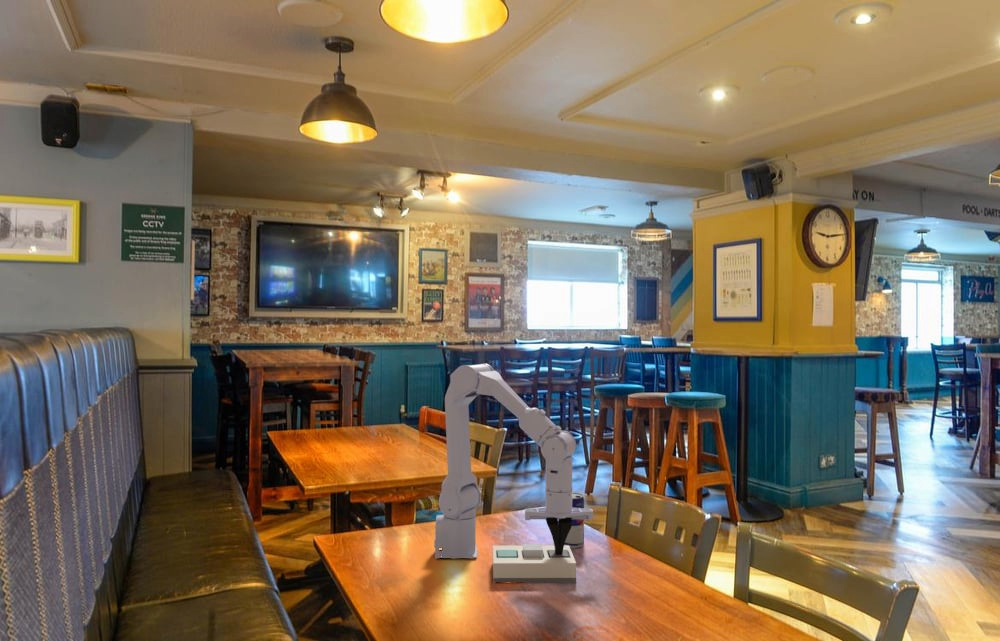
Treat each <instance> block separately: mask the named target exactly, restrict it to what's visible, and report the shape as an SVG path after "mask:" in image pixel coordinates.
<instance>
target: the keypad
mask: <svg viewBox="0 0 1000 641" xmlns="http://www.w3.org/2000/svg"><path fill="white" fill-rule="evenodd" d="M542 548H543V558H523V545H492V579H493V582H518V583H517V584H520V583H519V582H522V583H521V584H541V583H542V584H546V583H547V584H554V583H555V584H562V583H563V584H565V583H566V584H567V583H568V584H569V583H570V584H572V583H577V562H576V559H575V557H574V554H573V552H572V550H571V549H572V548H570V546H569V545H564V548H563V550H567V552H568V554H569V558H549V556H548V550H555V547H554V545H551V544H550V545H548V544H546V545H542ZM498 550H516V553H517V558H498ZM493 582H492V583H493Z"/></svg>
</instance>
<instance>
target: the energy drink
mask: <svg viewBox="0 0 1000 641" xmlns="http://www.w3.org/2000/svg"><path fill="white" fill-rule="evenodd" d="M572 507H573V508H584V509H585V498H584V495H583V494H582V493H579V492H572ZM564 545H569V546H570V549H580V548H582V547H583V546H584V545H585V519H572V527H571V529H570V531H569V533H568V535H567V538H566V541H565V544H564Z"/></svg>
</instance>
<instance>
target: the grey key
mask: <svg viewBox="0 0 1000 641" xmlns="http://www.w3.org/2000/svg"><path fill="white" fill-rule="evenodd" d="M522 546H523V558H543V548H542V543H522Z"/></svg>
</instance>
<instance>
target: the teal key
mask: <svg viewBox="0 0 1000 641" xmlns="http://www.w3.org/2000/svg"><path fill="white" fill-rule="evenodd" d="M498 558H517V553H516V550H498Z"/></svg>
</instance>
